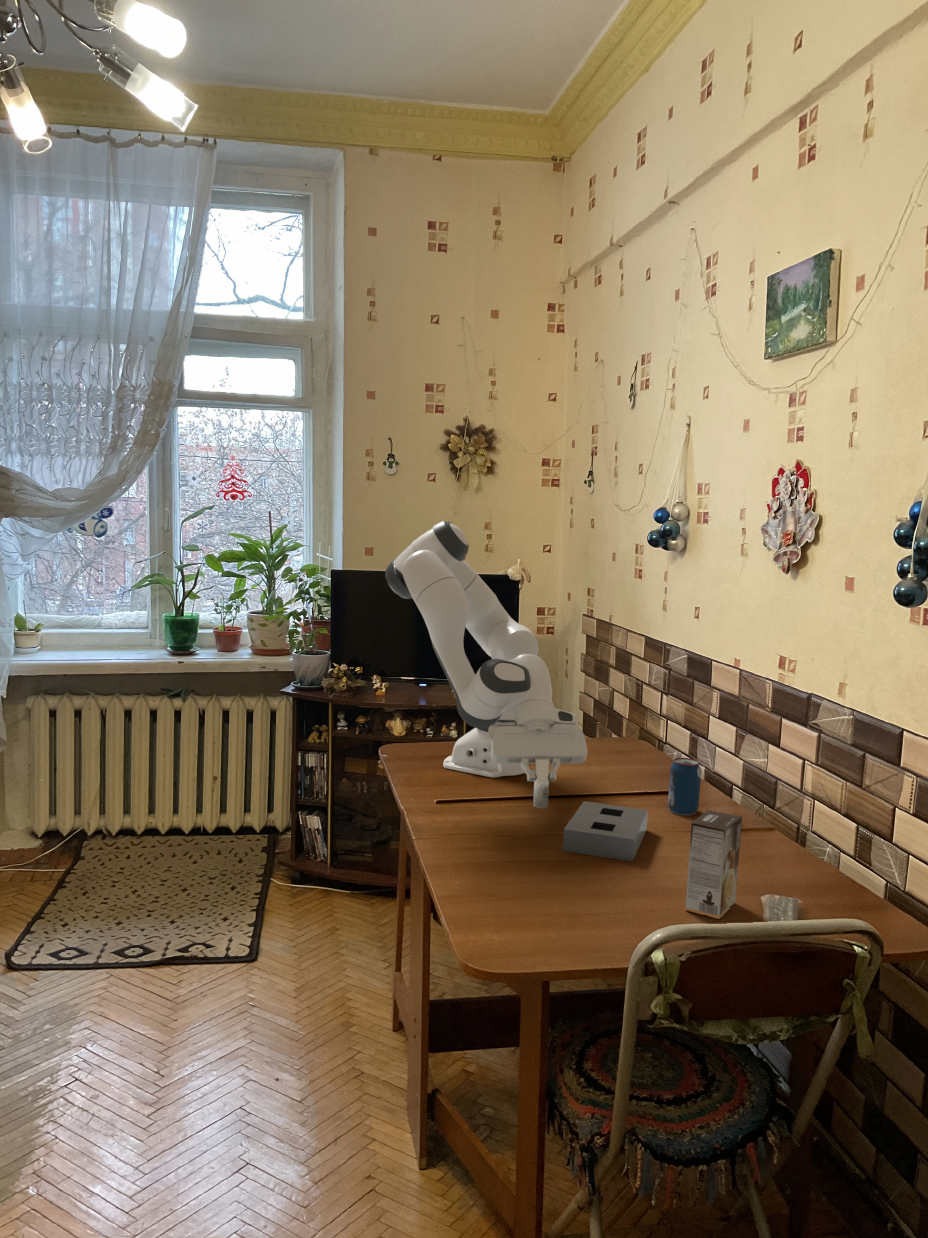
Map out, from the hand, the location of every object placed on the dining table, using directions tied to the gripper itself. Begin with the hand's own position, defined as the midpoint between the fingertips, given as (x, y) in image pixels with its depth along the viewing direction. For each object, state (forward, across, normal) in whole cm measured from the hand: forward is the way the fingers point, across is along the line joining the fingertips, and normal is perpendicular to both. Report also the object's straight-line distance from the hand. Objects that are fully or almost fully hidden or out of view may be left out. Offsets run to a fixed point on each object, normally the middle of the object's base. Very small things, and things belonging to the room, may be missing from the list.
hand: (542, 780), depth 195 cm
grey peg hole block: (+10, +14, +8) cm, 19 cm away
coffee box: (+33, +24, -15) cm, 44 cm away
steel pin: (+4, 0, +4) cm, 6 cm away
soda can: (-4, +37, +22) cm, 43 cm away
